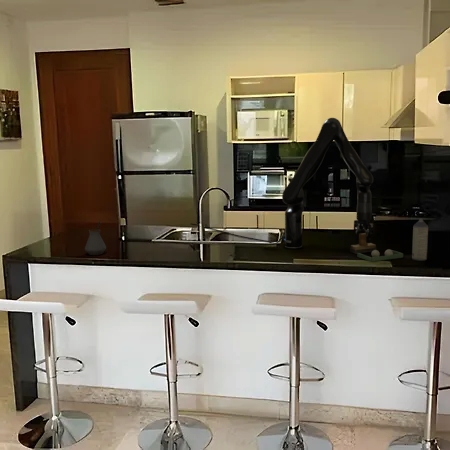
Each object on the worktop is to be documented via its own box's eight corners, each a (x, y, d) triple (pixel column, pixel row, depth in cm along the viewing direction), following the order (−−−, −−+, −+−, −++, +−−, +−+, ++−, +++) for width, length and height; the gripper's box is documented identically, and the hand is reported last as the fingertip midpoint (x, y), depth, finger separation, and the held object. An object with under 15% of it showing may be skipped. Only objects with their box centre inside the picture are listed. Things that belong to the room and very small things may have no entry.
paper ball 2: (382, 255, 268) (383, 248, 266) (388, 255, 269) (390, 247, 268) (387, 259, 264) (388, 252, 263) (393, 258, 266) (395, 251, 264)
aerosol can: (423, 257, 265) (424, 217, 262) (429, 260, 258) (431, 219, 255) (409, 257, 265) (411, 218, 261) (415, 261, 258) (417, 220, 255)
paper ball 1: (372, 260, 265) (368, 254, 268) (379, 259, 267) (375, 253, 269) (375, 254, 263) (371, 248, 265) (382, 253, 264) (378, 247, 267)
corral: (356, 256, 269) (357, 252, 269) (388, 252, 276) (388, 248, 276) (371, 261, 259) (371, 257, 259) (403, 257, 266) (403, 253, 266)
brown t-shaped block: (349, 251, 280) (350, 234, 278) (370, 249, 285) (370, 231, 283) (355, 253, 276) (356, 235, 274) (376, 251, 280) (376, 233, 279)
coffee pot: (104, 255, 285) (102, 227, 282) (82, 256, 285) (80, 228, 282) (111, 246, 306) (110, 221, 303) (91, 247, 306) (89, 221, 303)
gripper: (378, 212, 271) (377, 243, 274) (361, 208, 284) (361, 238, 287) (366, 213, 269) (365, 244, 271) (349, 209, 282) (349, 239, 285)
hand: (363, 241), depth 279 cm, fingers open, 8 cm apart
